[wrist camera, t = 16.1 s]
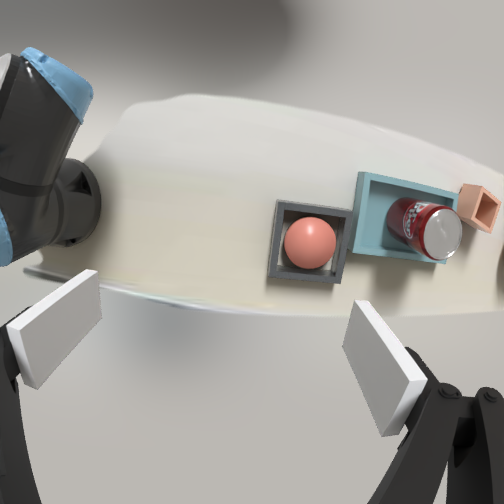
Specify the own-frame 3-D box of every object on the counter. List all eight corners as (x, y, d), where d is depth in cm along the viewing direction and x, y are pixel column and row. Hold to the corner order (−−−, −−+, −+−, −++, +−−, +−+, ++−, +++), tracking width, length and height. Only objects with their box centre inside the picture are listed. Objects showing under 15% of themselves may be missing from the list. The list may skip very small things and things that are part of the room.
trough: (346, 247, 46) (352, 252, 43) (358, 171, 43) (365, 171, 40) (436, 259, 46) (445, 263, 43) (449, 192, 43) (458, 194, 40)
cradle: (267, 270, 47) (268, 276, 44) (276, 199, 44) (278, 201, 41) (335, 277, 47) (340, 283, 44) (347, 209, 45) (353, 211, 42)
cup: (451, 213, 44) (470, 219, 38) (461, 183, 43) (482, 186, 37) (471, 226, 45) (490, 233, 39) (481, 198, 43) (501, 202, 37)
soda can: (427, 227, 44) (469, 244, 33) (395, 249, 45) (432, 272, 34) (411, 188, 43) (454, 196, 31) (377, 210, 44) (413, 224, 32)
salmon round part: (280, 261, 47) (281, 265, 44) (286, 212, 45) (288, 214, 42) (327, 266, 47) (331, 271, 44) (335, 218, 45) (339, 221, 42)
